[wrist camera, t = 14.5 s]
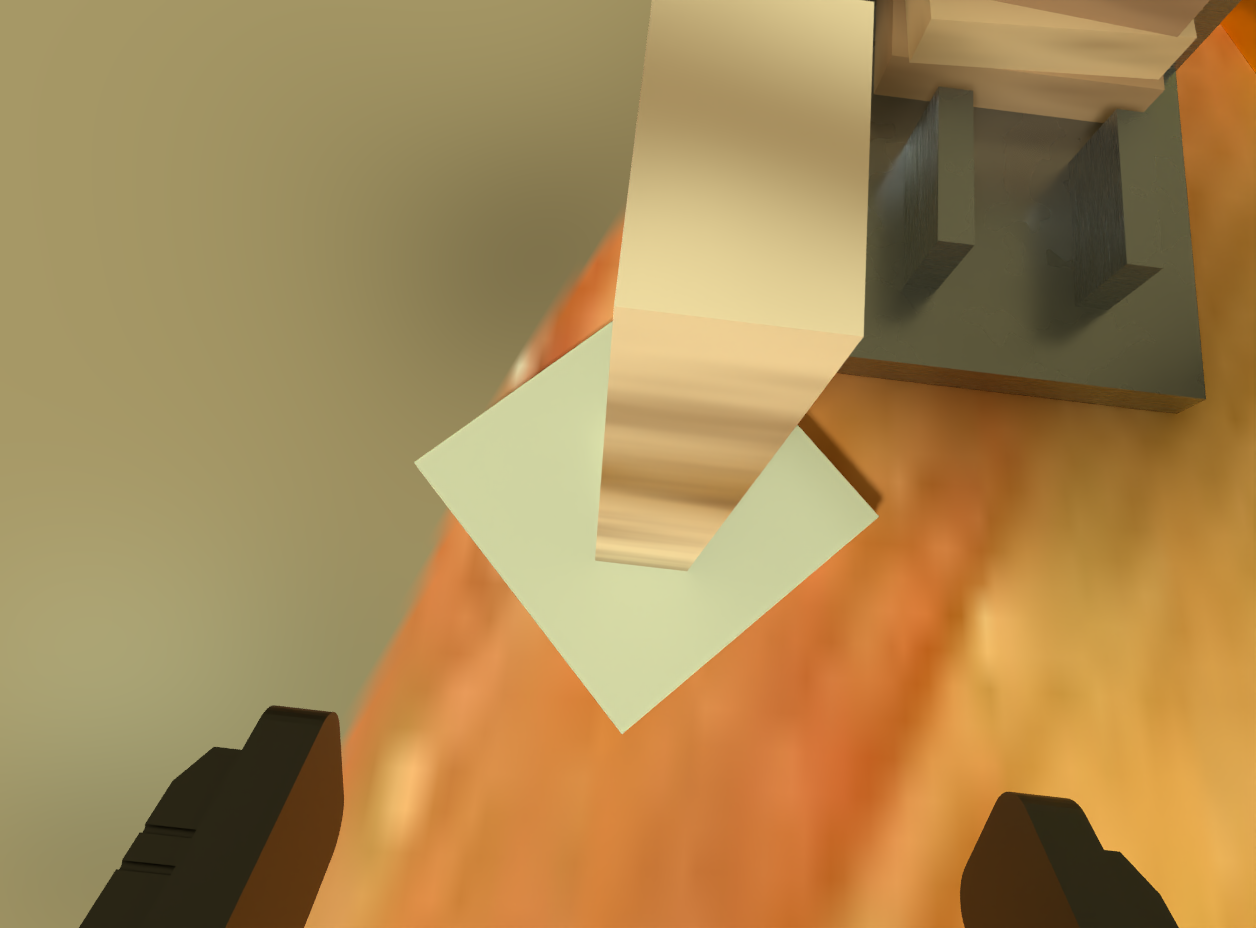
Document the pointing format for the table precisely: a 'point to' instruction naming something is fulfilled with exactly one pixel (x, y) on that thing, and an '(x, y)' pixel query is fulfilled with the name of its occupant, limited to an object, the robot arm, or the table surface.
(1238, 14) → the copper element tile
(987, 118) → the offcut rack
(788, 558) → the mat
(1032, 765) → the table surface
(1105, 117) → the offcut stack
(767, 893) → the table surface
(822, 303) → the beige wooden bar
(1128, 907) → the robot arm
